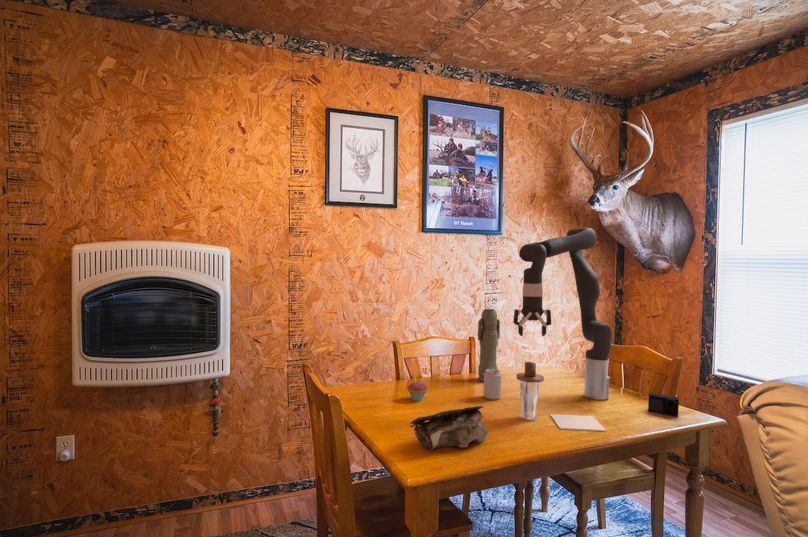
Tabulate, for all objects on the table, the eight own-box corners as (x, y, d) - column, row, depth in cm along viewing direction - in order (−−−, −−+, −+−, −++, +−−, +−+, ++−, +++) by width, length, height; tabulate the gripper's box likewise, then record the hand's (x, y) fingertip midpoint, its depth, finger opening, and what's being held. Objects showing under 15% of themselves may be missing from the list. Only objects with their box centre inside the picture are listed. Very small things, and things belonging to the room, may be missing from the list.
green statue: (502, 380, 223) (504, 310, 222) (484, 384, 217) (486, 311, 216) (490, 376, 231) (492, 308, 230) (472, 379, 224) (474, 309, 223)
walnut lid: (540, 375, 176) (540, 360, 176) (546, 383, 166) (547, 366, 166) (514, 374, 177) (514, 359, 177) (518, 381, 167) (519, 365, 167)
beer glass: (538, 416, 174) (539, 377, 174) (537, 422, 168) (539, 382, 167) (519, 413, 177) (521, 375, 176) (518, 419, 170) (519, 380, 170)
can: (501, 401, 192) (501, 373, 191) (483, 399, 193) (483, 371, 193) (500, 395, 199) (501, 368, 198) (483, 394, 200) (484, 367, 200)
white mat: (592, 417, 174) (592, 416, 174) (606, 431, 160) (606, 430, 160) (550, 415, 175) (550, 414, 175) (559, 429, 162) (559, 427, 162)
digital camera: (647, 412, 182) (648, 395, 181) (648, 409, 186) (649, 392, 186) (677, 418, 176) (678, 400, 176) (678, 414, 180) (679, 397, 180)
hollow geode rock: (412, 468, 140) (428, 446, 130) (399, 429, 148) (413, 406, 138) (487, 449, 152) (507, 429, 142) (471, 415, 160) (489, 392, 150)
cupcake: (404, 400, 189) (404, 372, 189) (411, 395, 197) (412, 367, 197) (423, 403, 186) (424, 374, 185) (430, 398, 194) (431, 370, 193)
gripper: (548, 293, 182) (547, 334, 183) (512, 293, 183) (512, 333, 184) (553, 295, 175) (553, 337, 175) (516, 295, 175) (515, 337, 176)
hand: (532, 335), depth 179 cm, fingers open, 8 cm apart
